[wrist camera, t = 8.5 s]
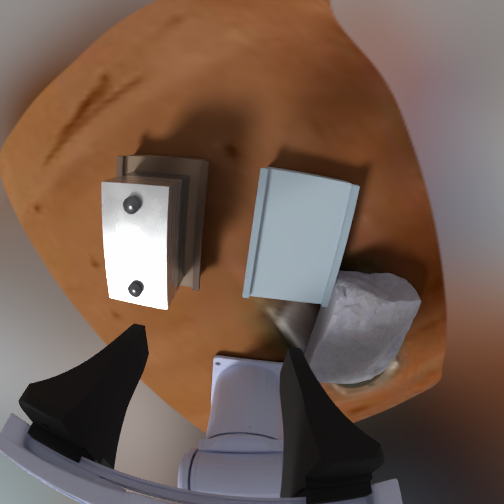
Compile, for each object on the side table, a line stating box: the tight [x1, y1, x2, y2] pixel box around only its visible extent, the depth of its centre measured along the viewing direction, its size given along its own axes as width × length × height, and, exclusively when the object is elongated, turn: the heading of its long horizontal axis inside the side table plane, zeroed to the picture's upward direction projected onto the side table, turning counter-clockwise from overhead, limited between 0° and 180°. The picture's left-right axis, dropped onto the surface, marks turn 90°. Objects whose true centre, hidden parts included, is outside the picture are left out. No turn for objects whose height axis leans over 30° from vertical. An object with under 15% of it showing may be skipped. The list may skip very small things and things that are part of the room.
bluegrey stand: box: [242, 167, 360, 307], centre depth 20 cm, size 7×10×2 cm
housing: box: [102, 171, 190, 310], centre depth 17 cm, size 8×4×5 cm, turn 172°
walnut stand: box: [116, 154, 210, 291], centre depth 20 cm, size 7×10×2 cm
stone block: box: [304, 271, 421, 383], centre depth 23 cm, size 12×5×10 cm
